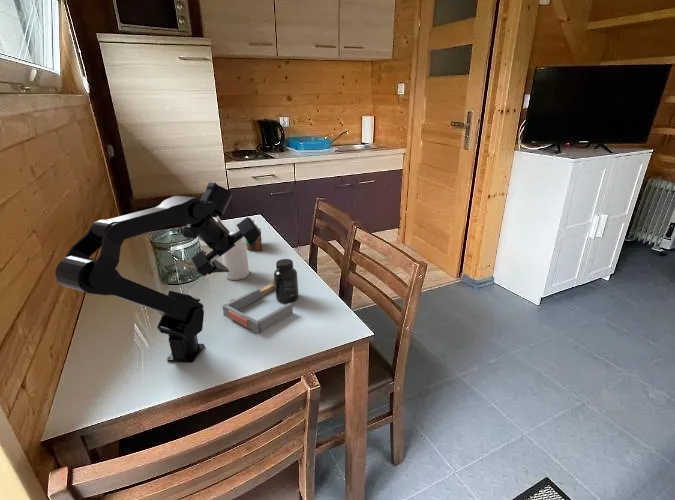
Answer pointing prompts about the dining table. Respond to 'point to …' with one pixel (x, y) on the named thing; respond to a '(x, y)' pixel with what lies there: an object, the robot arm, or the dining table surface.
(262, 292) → the rail
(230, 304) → the bay
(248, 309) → the dining table surface
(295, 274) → the supplement bottle
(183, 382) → the dining table surface
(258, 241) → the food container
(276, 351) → the dining table surface
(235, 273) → the pill bottle
